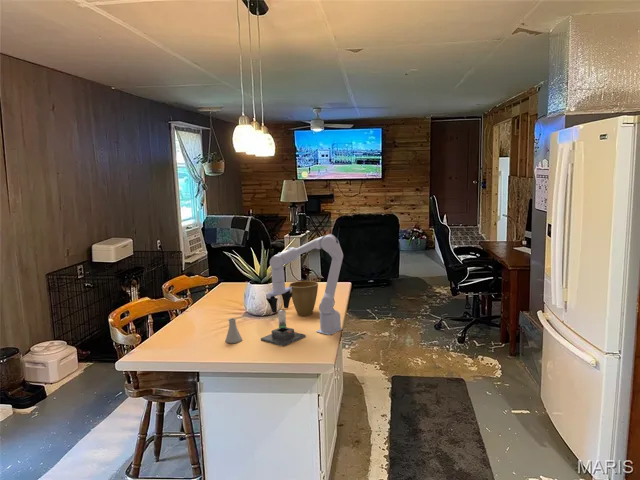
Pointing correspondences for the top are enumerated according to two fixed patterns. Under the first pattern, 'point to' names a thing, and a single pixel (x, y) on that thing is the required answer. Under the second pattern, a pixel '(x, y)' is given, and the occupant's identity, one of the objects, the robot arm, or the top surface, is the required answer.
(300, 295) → the plant pot
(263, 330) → the top surface
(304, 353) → the top surface
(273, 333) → the charcoal stand
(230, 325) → the flask
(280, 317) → the steel column
